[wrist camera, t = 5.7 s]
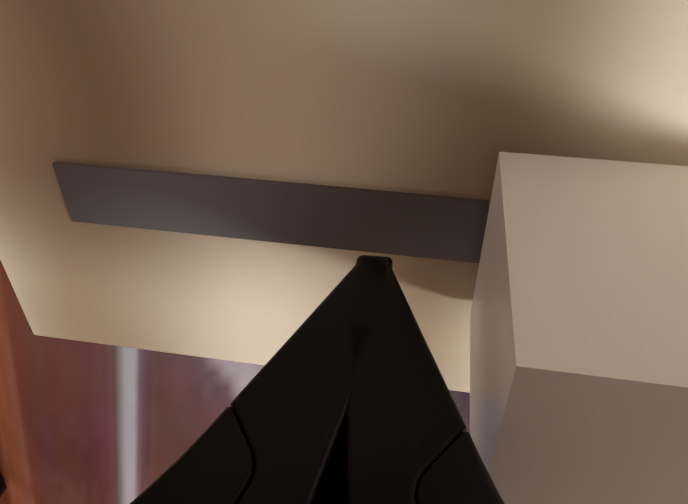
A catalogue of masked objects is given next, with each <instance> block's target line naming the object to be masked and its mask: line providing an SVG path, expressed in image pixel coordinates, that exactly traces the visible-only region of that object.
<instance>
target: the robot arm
mask: <svg viewBox="0 0 688 504" xmlns="http://www.w3.org/2000/svg"><path fill="white" fill-rule="evenodd" d="M6 488H7V487H6V484H5V483H4V481H3V480H2V478H1V476H0V497H1V496H2V494H3V493H4V491H5V490H6ZM130 504H505V503H504V501H503V500H502V498H501V496H500V494H499V492H498V490H497V488H496V486H495V484H494V482H493V480H492V478H491V477H490V475H489V473H488V471H487V469H486V467H485V465H484V463H483V461H482V459H481V457H480V455H479V453H478V450H477V448H476V446H475V444H474V442H473V440H472V438H471V436H470V434H469V433H468V432H466V426H465V423H464V421H463V419H462V417H461V415H460V413H459V411H458V409H457V406H456V404H455V402H454V400H453V398H452V396H451V394H450V391H449V389H448V387H447V385H446V383H445V381H444V379H443V377H442V374H441V372H440V370H439V368H438V366H437V364H436V362H435V359H434V357H433V355H432V353H431V351H430V349H429V347H428V345H427V342H426V340H425V338H424V336H423V334H422V332H421V330H420V327H419V325H418V323H417V321H416V319H415V317H414V315H413V313H412V310H411V308H410V306H409V304H408V302H407V300H406V298H405V295H404V293H403V291H402V289H401V287H400V285H399V283H398V280H397V278H396V276H395V274H394V272H393V261H392V259H391V258H390V257H384V256H371V255H360V256H359V257H358V258H357V261H356V265H355V266H354V267H353V268H352V269H351V270H350V272H349V273H348V274H347V275H346V276H345V277H344V278H343V279H342V280H341V282H340V283H339V284H338V285H337V286H336V287H335V288H334V289H333V290H332V292H331V293H330V294H329V295H328V296H327V297H326V298H325V299H324V300H323V301H322V303H321V304H320V305H319V306H318V307H317V308H316V309H315V310H314V311H313V313H312V314H311V315H310V316H309V317H308V318H307V319H306V320H305V321H304V323H303V324H302V325H301V326H300V327H299V328H298V329H297V330H296V331H295V333H294V334H293V335H292V336H291V337H290V338H289V339H288V340H287V341H286V343H285V344H284V345H283V346H282V347H281V348H280V349H279V350H278V351H277V352H276V354H275V355H274V356H273V357H272V358H271V359H270V360H269V361H268V362H267V364H266V365H265V366H264V367H263V368H262V369H261V370H260V371H259V372H258V374H257V375H256V376H255V377H254V378H253V379H252V380H251V381H250V382H249V384H248V385H247V386H246V387H245V388H244V389H243V390H242V391H241V392H240V394H239V395H238V396H237V397H236V398H235V399H234V400H233V401H232V403H231V407H227V408H226V409H225V410H224V411H223V412H222V413H221V414H220V415H219V416H218V418H217V419H216V420H215V421H214V422H213V423H212V424H211V425H210V427H209V428H208V429H207V430H206V431H205V432H204V433H203V434H202V435H201V436H200V437H199V438H198V439H197V440H196V441H195V442H194V443H193V444H192V445H191V446H190V447H189V448H188V450H187V451H186V452H185V453H184V454H183V455H182V456H181V457H180V458H179V459H178V460H177V461H176V462H175V463H174V464H172V465H171V466H170V467H169V468H168V469H167V470H166V471H165V472H164V473H163V474H162V475H161V476H160V477H159V478H157V479H156V480H155V481H154V482H153V483H152V484H151V485H150V486H149V487H148V488H147V489H146V490H145V491H144V492H142V493H141V494H140V495H139V496H138V497H137V498H136V499H135V500H134V501H132V502H131V503H130Z"/></svg>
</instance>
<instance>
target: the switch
mask: <svg viewBox="0 0 688 504" xmlns="http://www.w3.org/2000/svg"><path fill="white" fill-rule="evenodd" d="M470 436H471V438H472V440H473V442H474V444H475V446H476V448H477V450H478V453H479V455H480V457H481V459H482V461H483V463H484V465H485V467H486V469H487V471H488V473H489V475H490V477H491V478H492V480H493V482H494V484H495V486H496V488H497V490H498V492H499V494H500V496H501V498H502V500H503V501H504V503H505V504H688V166H678V165H665V164H652V163H639V162H626V161H614V160H601V159H588V158H575V157H562V156H550V155H537V154H524V153H511V152H499V155H498V161H497V166H496V172H495V177H494V183H493V189H492V194H491V200H490V206H489V211H488V217H487V222H486V228H485V234H484V239H483V245H482V251H481V256H480V262H479V267H478V273H477V279H476V284H475V290H474V296H473V301H472V307H471V313H470Z"/></svg>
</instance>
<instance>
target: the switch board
mask: <svg viewBox="0 0 688 504" xmlns="http://www.w3.org/2000/svg"><path fill="white" fill-rule="evenodd" d="M499 152H511V153H524V154H537V155H550V156H562V157H575V158H588V159H601V160H614V161H626V162H639V163H652V164H665V165H678V166H688V0H0V260H1V262H2V264H3V266H4V269H5V271H6V273H7V275H8V278H9V280H10V282H11V284H12V287H13V289H14V291H15V293H16V295H17V298H18V300H19V302H20V304H21V307H22V309H23V311H24V313H25V316H26V318H27V320H28V322H29V325H30V327H31V329H32V331H33V333H34V335H40V336H47V337H55V338H62V339H70V340H77V341H85V342H92V343H100V344H107V345H115V346H123V347H130V348H138V349H145V350H153V351H160V352H168V353H175V354H183V355H190V356H198V357H205V358H213V359H221V360H228V361H236V362H243V363H251V364H258V365H266V364H267V362H268V361H269V360H270V359H271V358H272V357H273V356H274V355H275V354H276V352H277V351H278V350H279V349H280V348H281V347H282V346H283V345H284V344H285V343H286V341H287V340H288V339H289V338H290V337H291V336H292V335H293V334H294V333H295V331H296V330H297V329H298V328H299V327H300V326H301V325H302V324H303V323H304V321H305V320H306V319H307V318H308V317H309V316H310V315H311V314H312V313H313V311H314V310H315V309H316V308H317V307H318V306H319V305H320V304H321V303H322V301H323V300H324V299H325V298H326V297H327V296H328V295H329V294H330V293H331V292H332V290H333V289H334V288H335V287H336V286H337V285H338V284H339V283H340V282H341V280H342V279H343V278H344V277H345V276H346V275H347V274H348V273H349V272H350V270H351V269H352V268H353V267H354V266H355V265H356V261H357V258H358V257H359V256H360V255H371V256H384V257H390V258H391V259H392V261H393V272H394V274H395V276H396V278H397V280H398V283H399V285H400V287H401V289H402V291H403V293H404V295H405V298H406V300H407V302H408V304H409V306H410V308H411V310H412V313H413V315H414V317H415V319H416V321H417V323H418V325H419V327H420V330H421V332H422V334H423V336H424V338H425V340H426V342H427V345H428V347H429V349H430V351H431V353H432V355H433V357H434V359H435V362H436V364H437V366H438V368H439V370H440V372H441V374H442V377H443V379H444V381H445V383H446V385H447V387H448V389H449V390H454V391H462V392H469V393H470V313H471V307H472V301H473V296H474V290H475V284H476V279H477V273H478V267H479V262H480V256H481V251H482V245H483V239H484V234H485V228H486V222H487V217H488V211H489V206H490V200H491V194H492V189H493V183H494V177H495V172H496V166H497V161H498V155H499Z"/></svg>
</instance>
